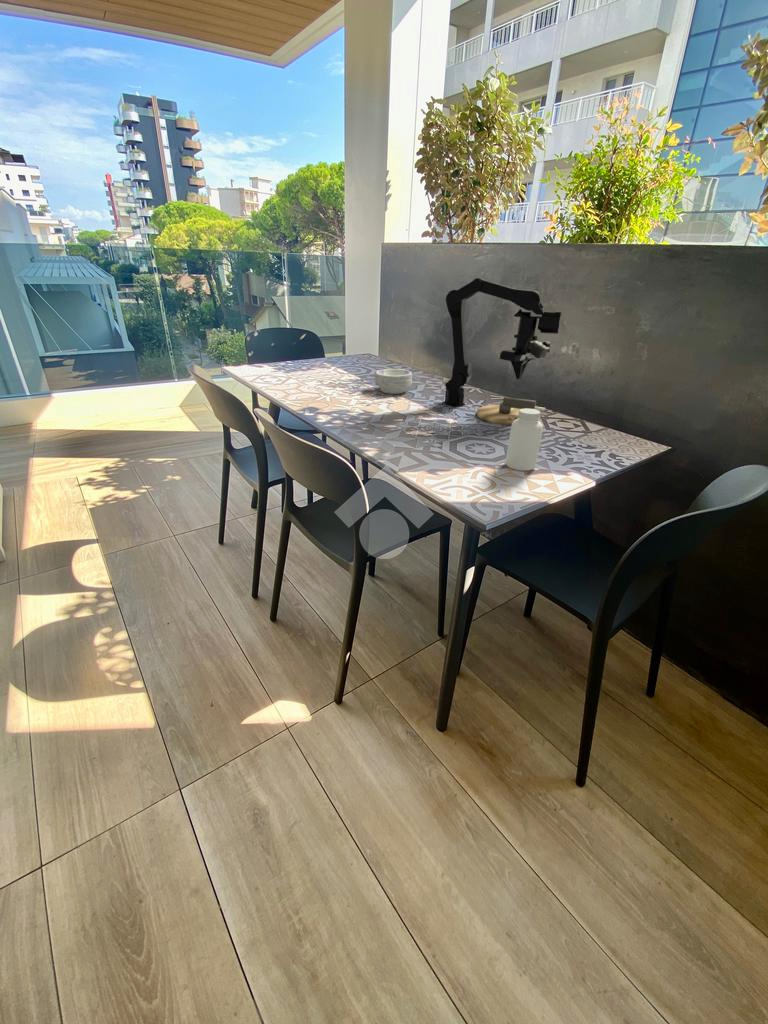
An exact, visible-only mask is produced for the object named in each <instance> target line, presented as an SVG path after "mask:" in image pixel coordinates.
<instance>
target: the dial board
mask: <svg viewBox="0 0 768 1024" xmlns="http://www.w3.org/2000/svg"><path fill="white" fill-rule="evenodd" d="M499 407H500V404H489V405H484V406H481V407H478V408H477V410H476V417H478V418H479V419H480V420H482V421H484V422H488V423H490V424H495V425H500V426H501V425H503V426H511V425H512V423H513V422H514V421H515V420H517V419H518V413H519V410H520V409H518V408H511V412H510V413H500V412H499Z"/></svg>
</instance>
